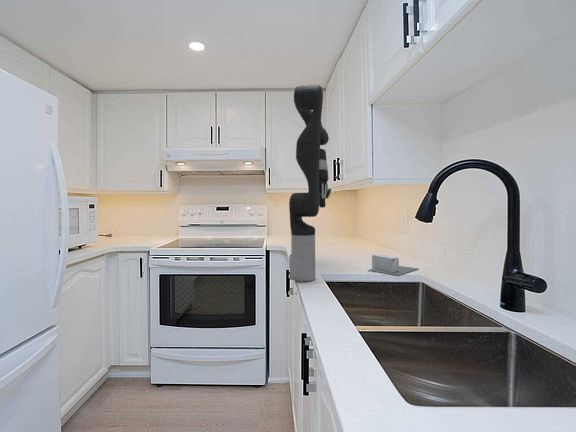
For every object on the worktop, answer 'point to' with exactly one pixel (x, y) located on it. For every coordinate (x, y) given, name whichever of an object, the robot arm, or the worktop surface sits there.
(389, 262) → the skincare box
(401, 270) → the slate mat
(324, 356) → the worktop surface
